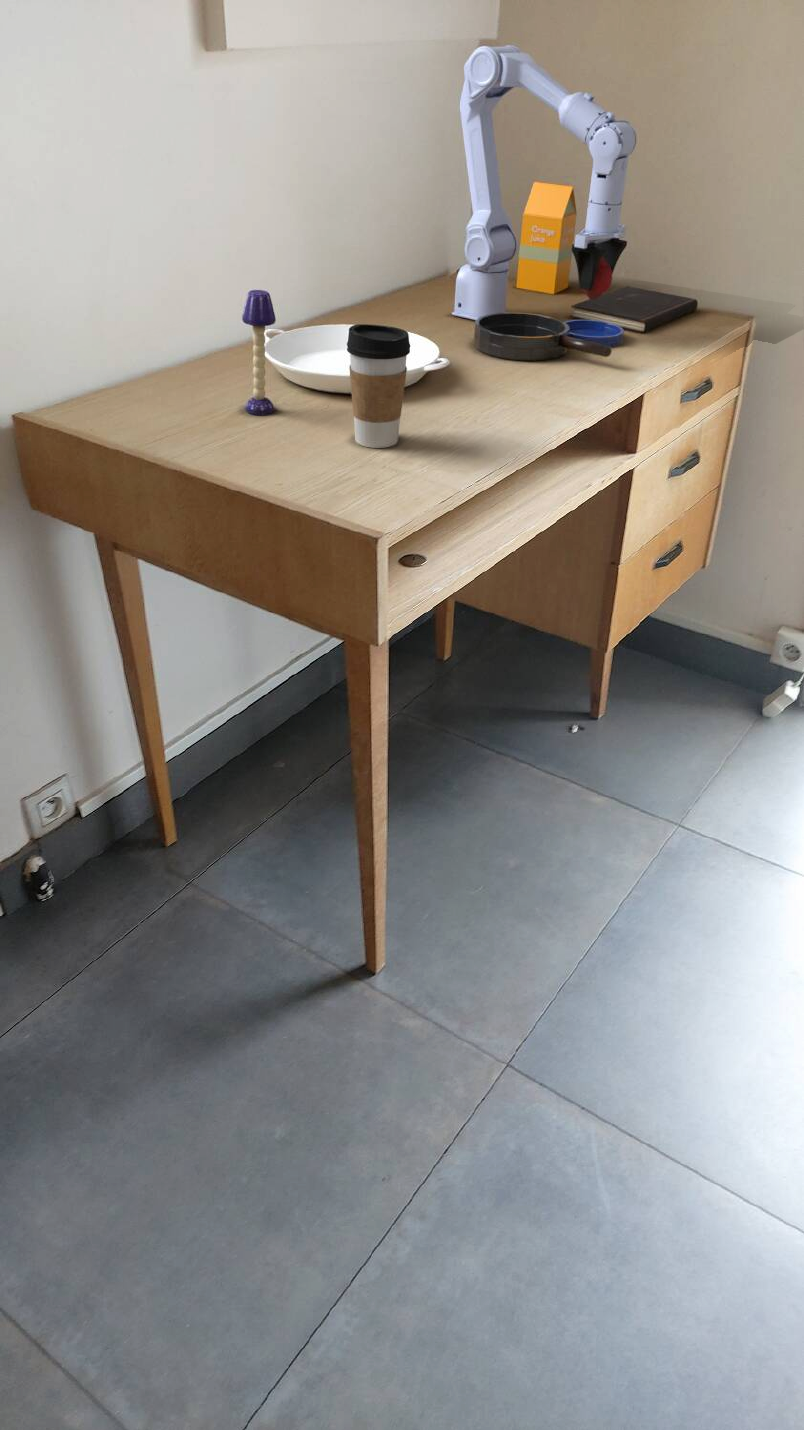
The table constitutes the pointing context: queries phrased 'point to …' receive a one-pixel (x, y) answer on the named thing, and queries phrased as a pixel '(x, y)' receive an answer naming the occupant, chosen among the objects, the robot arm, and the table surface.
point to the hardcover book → (634, 308)
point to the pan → (336, 357)
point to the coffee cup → (377, 382)
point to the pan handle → (585, 346)
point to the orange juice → (547, 238)
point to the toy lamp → (259, 347)
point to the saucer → (596, 332)
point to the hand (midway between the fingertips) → (594, 286)
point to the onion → (600, 280)
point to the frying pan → (520, 336)
